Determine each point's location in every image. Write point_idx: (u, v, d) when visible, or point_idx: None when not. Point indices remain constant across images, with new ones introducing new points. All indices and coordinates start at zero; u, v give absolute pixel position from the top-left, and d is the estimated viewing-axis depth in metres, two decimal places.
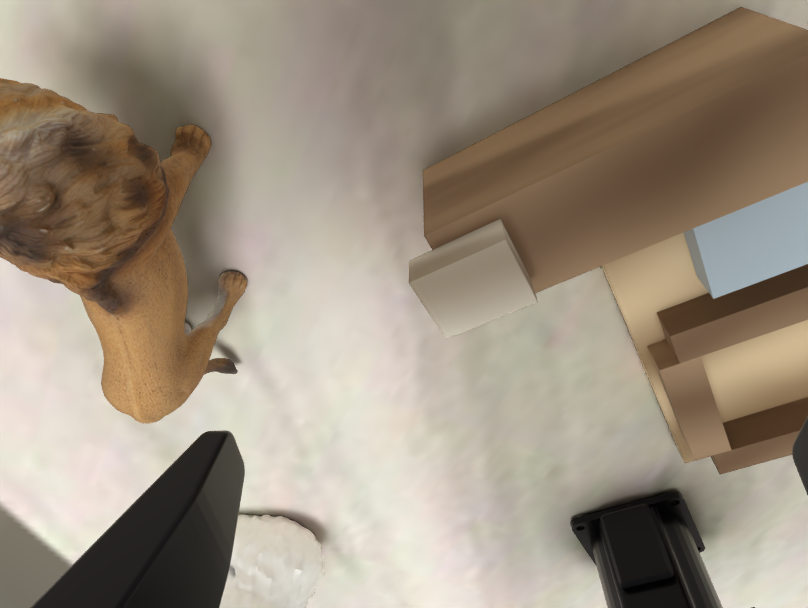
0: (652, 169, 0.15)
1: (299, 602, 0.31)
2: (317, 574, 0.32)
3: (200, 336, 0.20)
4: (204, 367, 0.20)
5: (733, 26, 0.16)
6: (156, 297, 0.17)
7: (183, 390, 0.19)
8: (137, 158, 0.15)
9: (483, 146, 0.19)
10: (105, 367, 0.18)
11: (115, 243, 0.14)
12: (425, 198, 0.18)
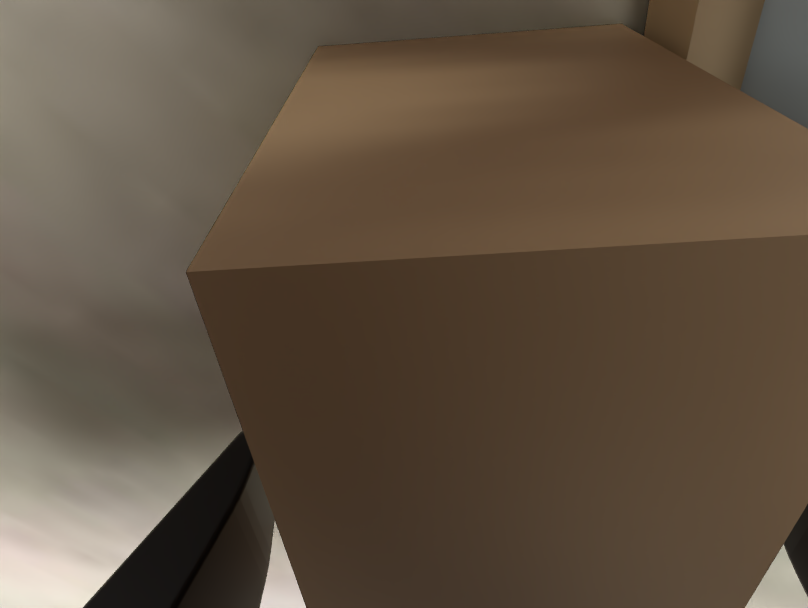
0: None
1: None
2: None
3: None
4: None
5: None
6: None
7: None
8: None
9: None
10: None
11: None
12: None
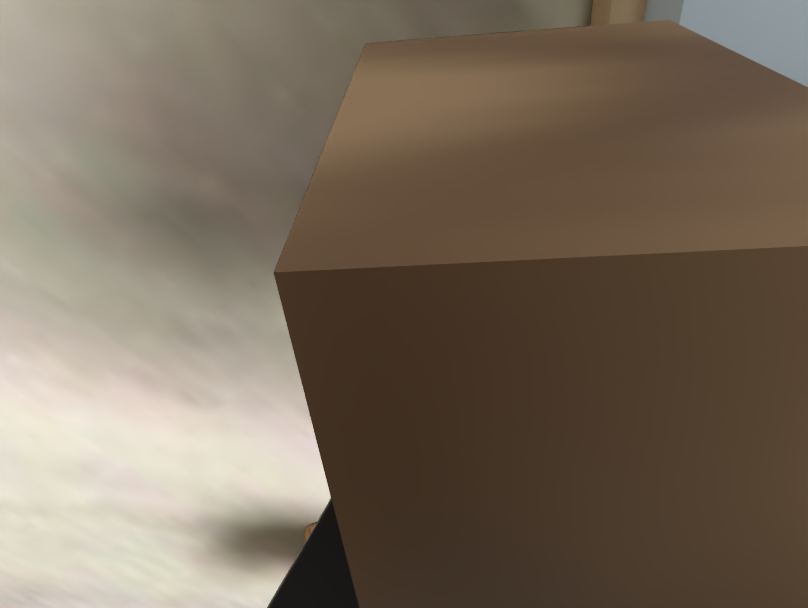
0: None
1: None
2: None
3: None
4: None
5: None
6: None
7: None
8: None
9: None
10: None
11: None
12: None
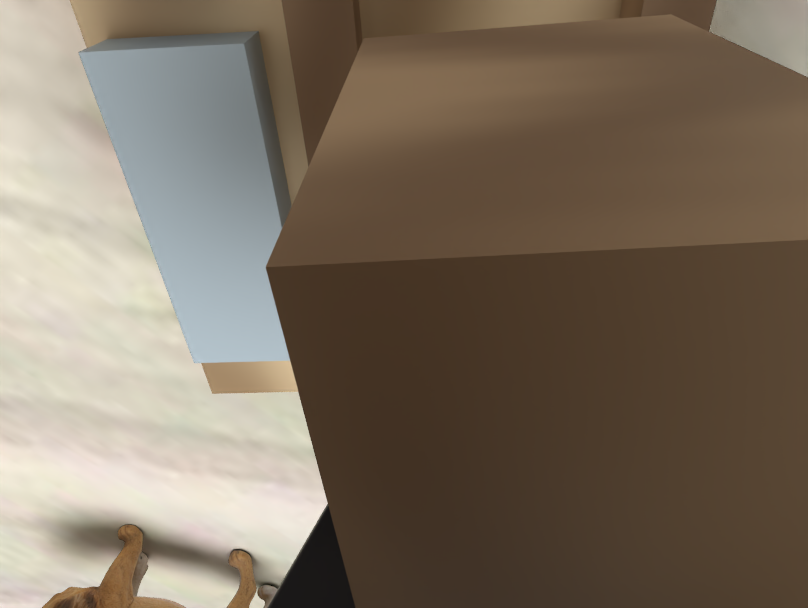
0: None
1: None
2: None
3: None
4: None
5: None
6: None
7: None
8: None
9: None
10: None
11: None
12: None
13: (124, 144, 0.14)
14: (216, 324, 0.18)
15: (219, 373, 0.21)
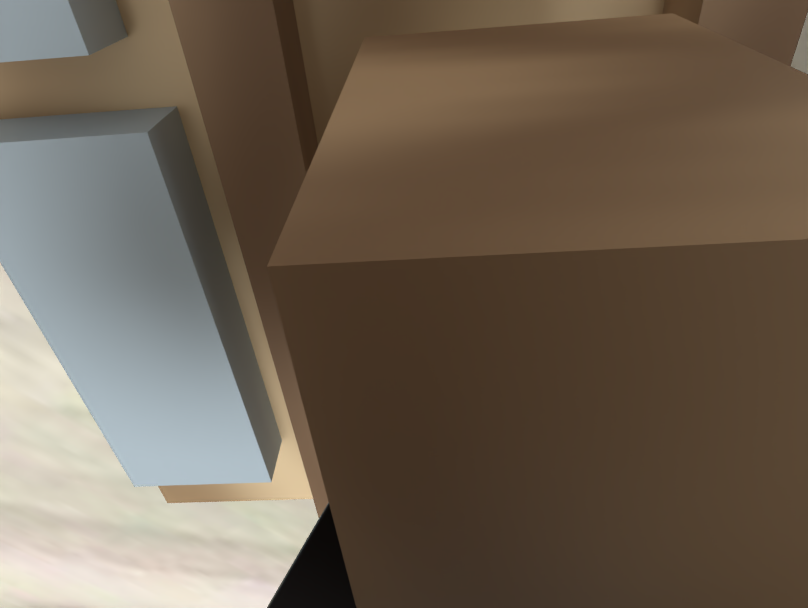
0: None
1: None
2: None
3: None
4: None
5: None
6: None
7: None
8: None
9: None
10: None
11: None
12: None
13: (10, 254, 0.11)
14: (155, 447, 0.15)
15: None
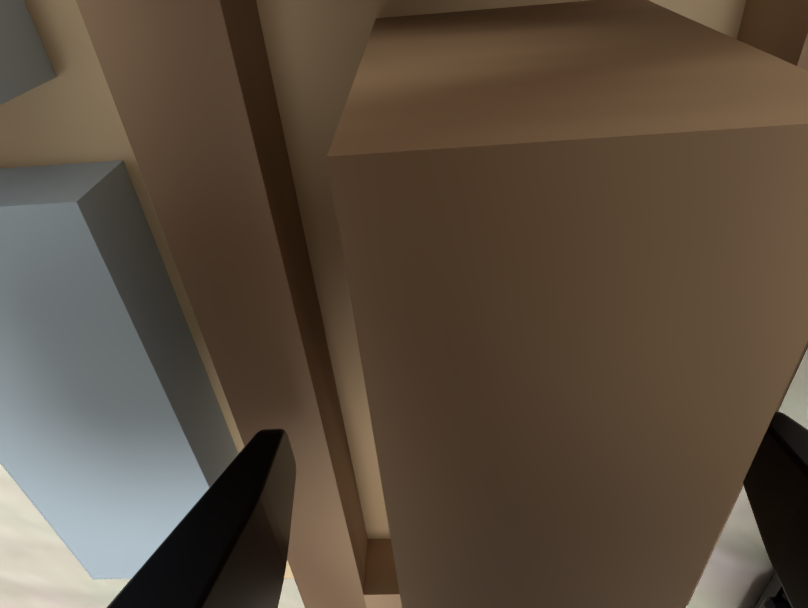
0: (496, 547, 0.06)
1: None
2: None
3: None
4: None
5: None
6: None
7: None
8: None
9: None
10: None
11: None
12: None
13: None
14: (114, 541, 0.13)
15: None
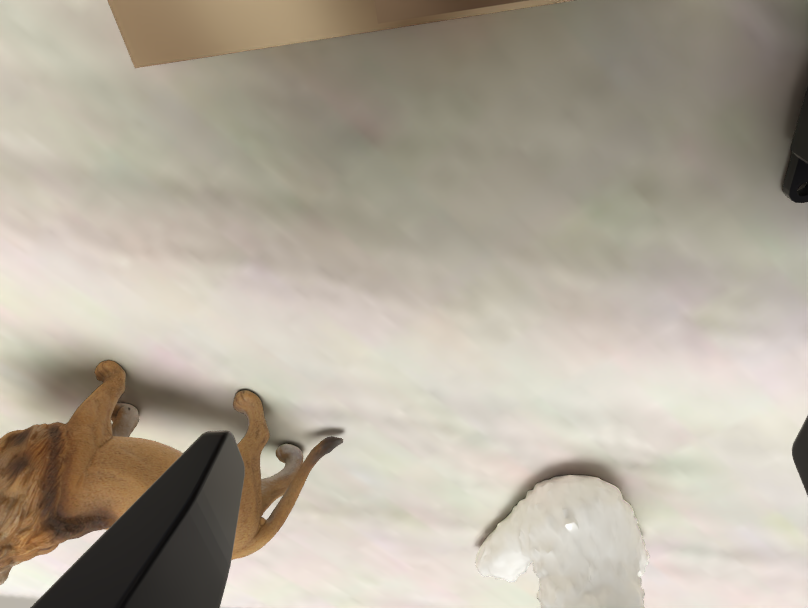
0: None
1: (607, 552, 0.25)
2: (605, 511, 0.26)
3: None
4: None
5: None
6: (118, 493, 0.20)
7: None
8: (11, 447, 0.20)
9: None
10: None
11: (28, 504, 0.19)
12: None
13: None
14: None
15: (137, 24, 0.15)
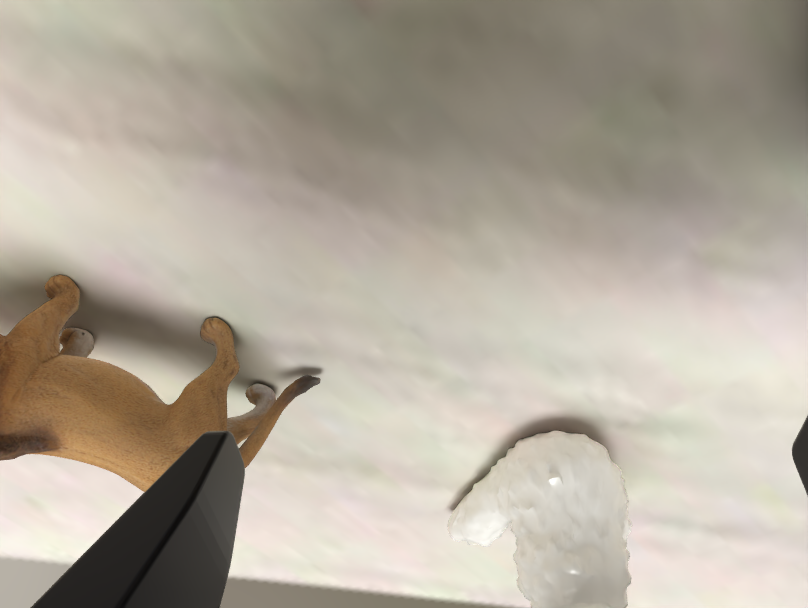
0: None
1: (592, 510, 0.23)
2: (592, 467, 0.24)
3: (182, 395, 0.20)
4: (205, 412, 0.20)
5: None
6: (61, 411, 0.18)
7: (187, 446, 0.19)
8: None
9: None
10: None
11: None
12: None
13: None
14: None
15: None
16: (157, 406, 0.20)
